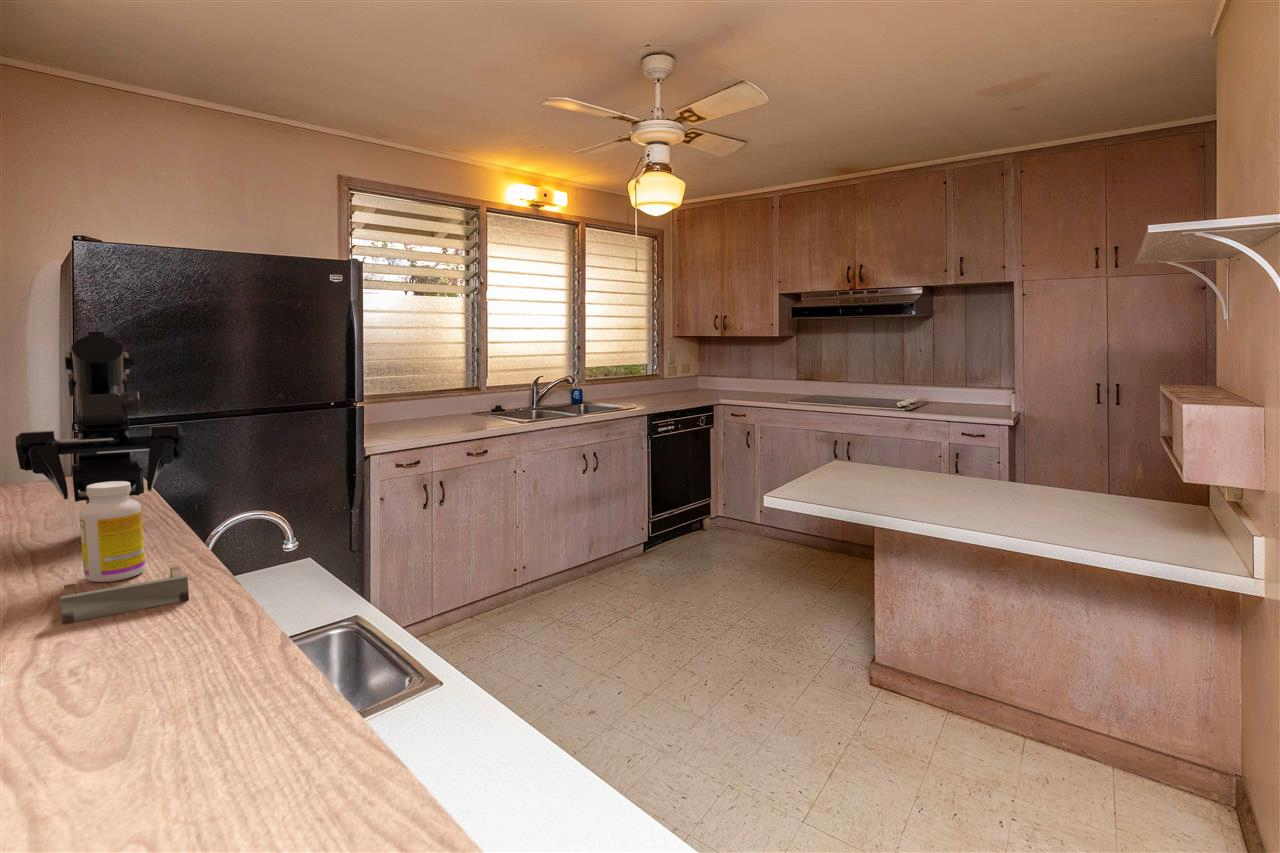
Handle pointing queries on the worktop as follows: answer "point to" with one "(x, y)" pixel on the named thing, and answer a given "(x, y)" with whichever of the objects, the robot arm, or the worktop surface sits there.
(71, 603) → the u-shaped frame
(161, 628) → the worktop surface
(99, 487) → the supplement bottle
